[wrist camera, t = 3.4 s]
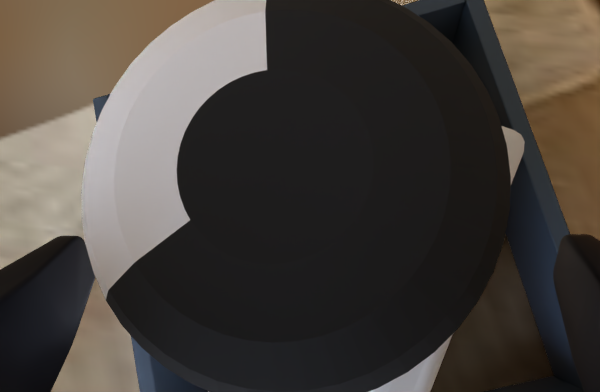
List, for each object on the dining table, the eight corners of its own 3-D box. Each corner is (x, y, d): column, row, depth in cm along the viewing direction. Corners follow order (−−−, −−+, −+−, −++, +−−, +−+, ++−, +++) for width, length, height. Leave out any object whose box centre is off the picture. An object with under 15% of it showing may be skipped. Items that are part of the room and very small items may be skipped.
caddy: (574, 387, 16) (639, 417, 12) (208, 469, 17) (159, 522, 13) (455, 46, 19) (477, -19, 15) (146, 136, 20) (92, 98, 16)
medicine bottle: (470, 196, 18) (666, 0, 6) (393, 388, 17) (443, 608, 5) (288, 125, 19) (155, -141, 7) (209, 299, 18) (-84, 310, 6)
